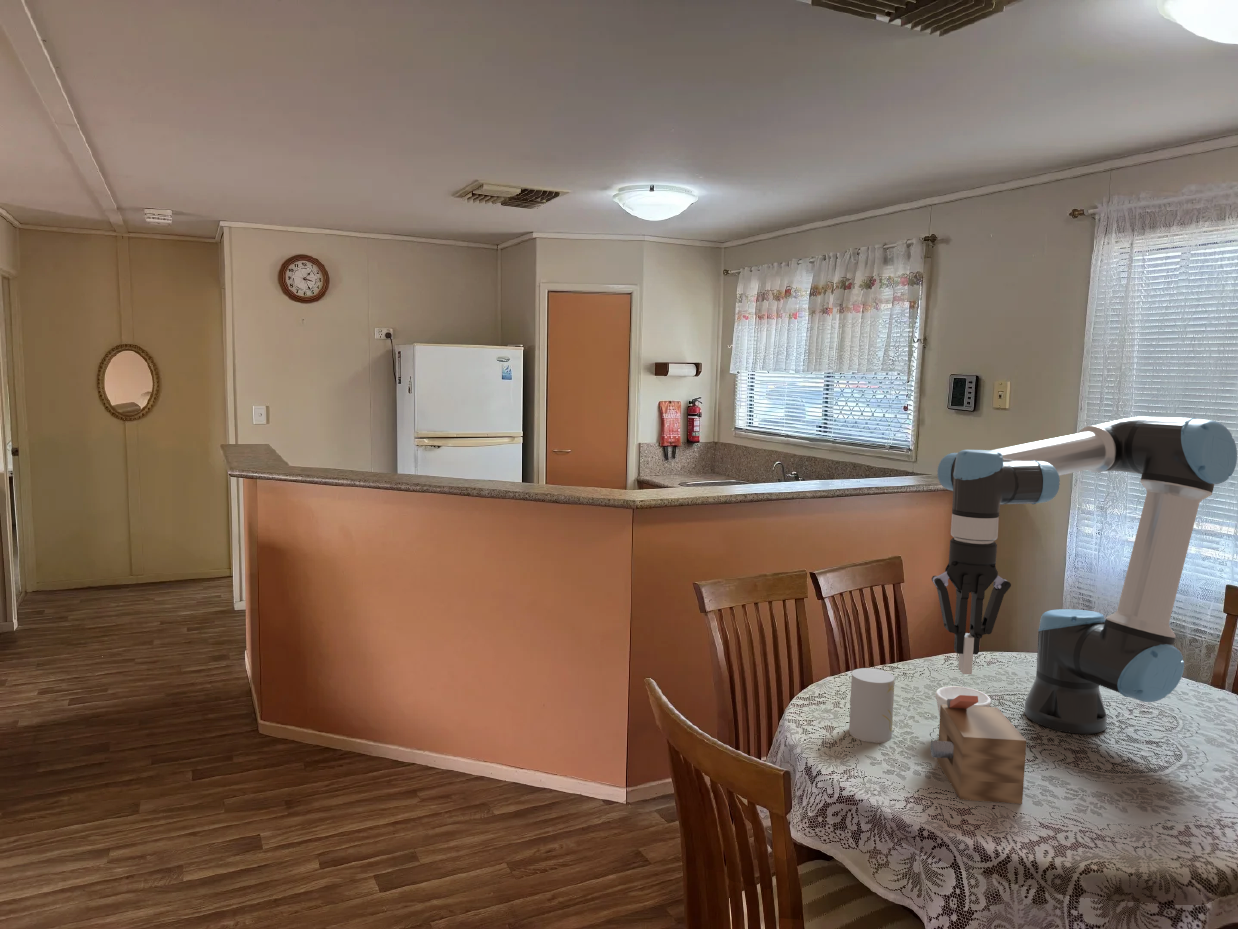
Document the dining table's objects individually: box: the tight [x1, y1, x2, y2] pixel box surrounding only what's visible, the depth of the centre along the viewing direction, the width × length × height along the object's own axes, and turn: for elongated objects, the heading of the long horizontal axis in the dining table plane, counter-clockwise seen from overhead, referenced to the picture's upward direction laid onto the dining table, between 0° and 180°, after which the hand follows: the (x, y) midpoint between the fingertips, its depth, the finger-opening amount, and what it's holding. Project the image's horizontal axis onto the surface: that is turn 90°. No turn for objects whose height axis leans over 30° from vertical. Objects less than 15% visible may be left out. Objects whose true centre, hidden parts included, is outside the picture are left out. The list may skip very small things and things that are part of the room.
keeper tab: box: [947, 695, 978, 709], centre depth 148 cm, size 3×8×2 cm
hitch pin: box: [930, 740, 954, 759], centre depth 146 cm, size 15×5×5 cm, turn 84°
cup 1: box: [848, 667, 896, 744], centre depth 165 cm, size 8×8×12 cm
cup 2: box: [935, 685, 992, 717], centre depth 162 cm, size 10×10×9 cm
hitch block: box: [936, 704, 1027, 805], centre depth 146 cm, size 10×14×11 cm
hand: (965, 671), depth 146 cm, fingers closed
